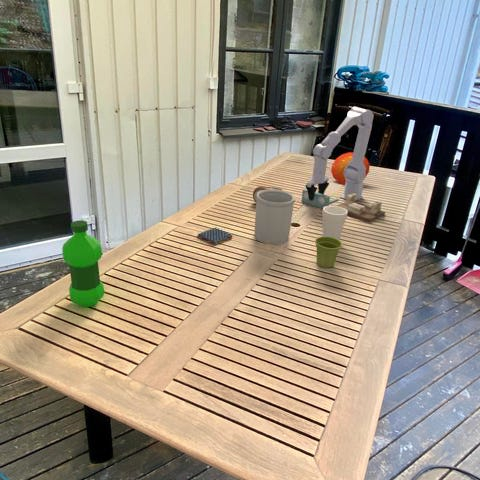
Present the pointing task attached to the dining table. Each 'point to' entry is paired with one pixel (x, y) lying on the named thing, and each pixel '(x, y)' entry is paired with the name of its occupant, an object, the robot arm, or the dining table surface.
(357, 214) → the display stand
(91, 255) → the plastic bottle
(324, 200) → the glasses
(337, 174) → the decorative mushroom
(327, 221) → the foam cup
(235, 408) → the dining table surface
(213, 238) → the woven mat
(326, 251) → the plant pot
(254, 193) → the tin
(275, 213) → the utensil holder
